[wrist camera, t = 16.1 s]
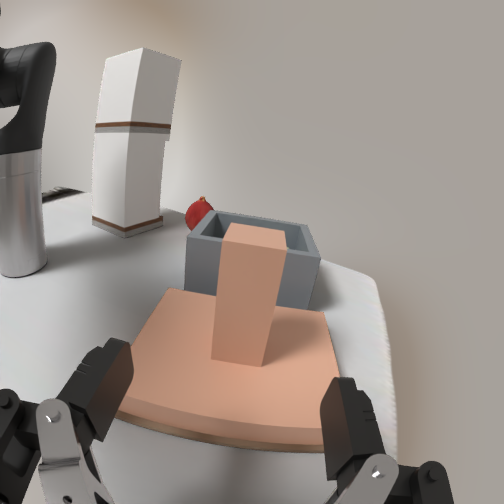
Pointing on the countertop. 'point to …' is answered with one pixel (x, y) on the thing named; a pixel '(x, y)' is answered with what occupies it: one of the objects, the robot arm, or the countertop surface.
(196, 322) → the lid
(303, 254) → the storage box
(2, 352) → the countertop surface
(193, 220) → the pomegranate
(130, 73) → the white tall block
